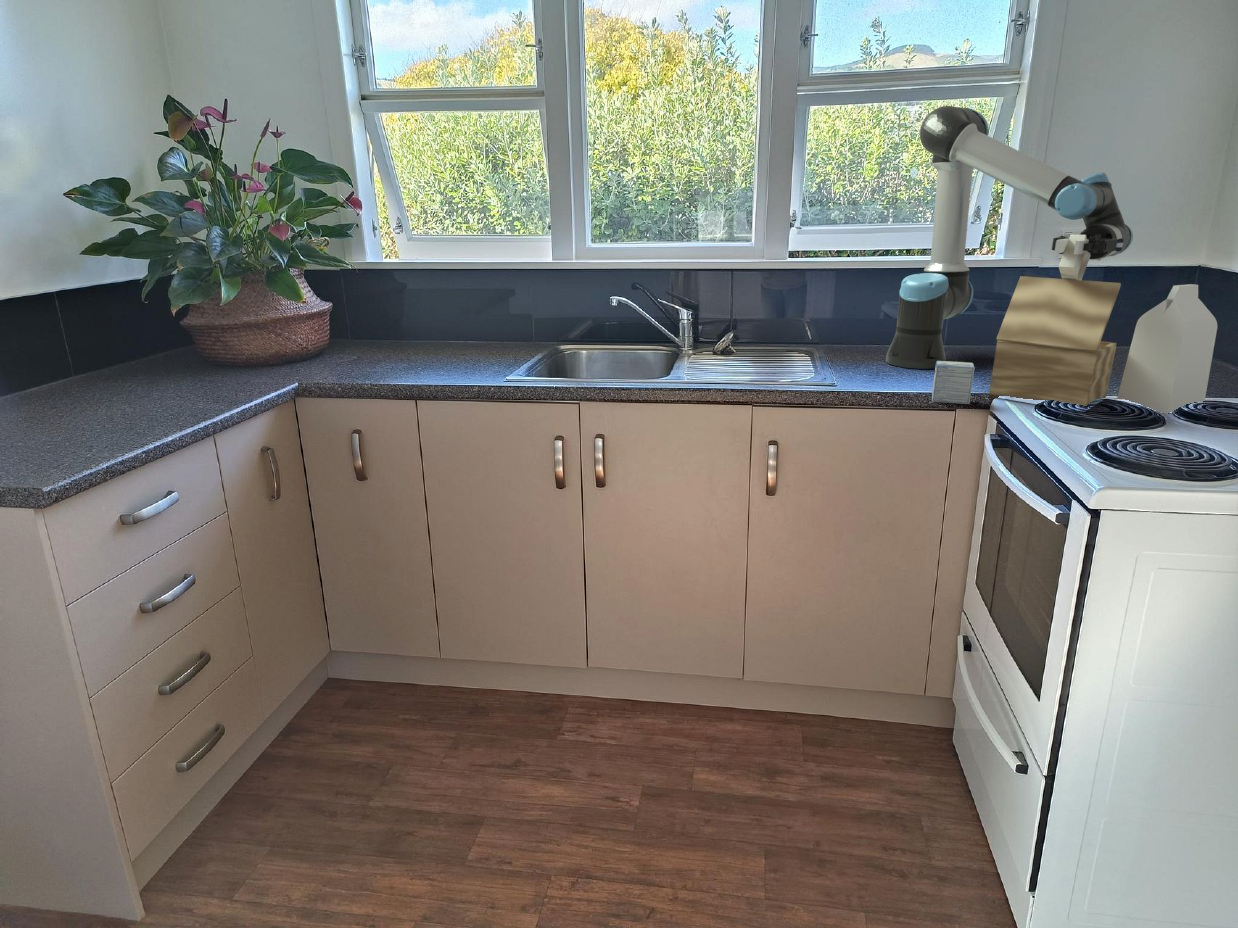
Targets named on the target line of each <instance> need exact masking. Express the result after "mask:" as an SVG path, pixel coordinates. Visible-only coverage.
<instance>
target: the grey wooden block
mask: <svg viewBox="0 0 1238 928" xmlns="http://www.w3.org/2000/svg"><path fill="white" fill-rule="evenodd" d="M974 373H975V365H974V363H973V362H965V361H947V360H945V361H936V367H935V368H934V376H933V384H932V391H931V392H932V393H931V401H932V403H947V404H959V405H960V404H962V405H970V404H971V395H972V388H973V381H974V375H975V374H974Z"/></svg>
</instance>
